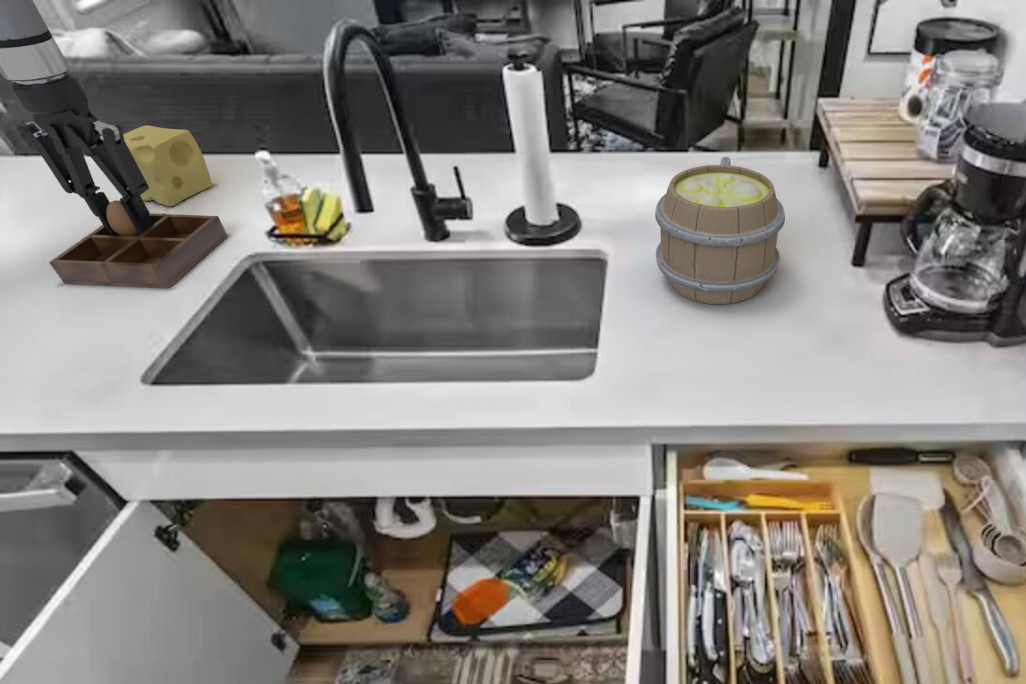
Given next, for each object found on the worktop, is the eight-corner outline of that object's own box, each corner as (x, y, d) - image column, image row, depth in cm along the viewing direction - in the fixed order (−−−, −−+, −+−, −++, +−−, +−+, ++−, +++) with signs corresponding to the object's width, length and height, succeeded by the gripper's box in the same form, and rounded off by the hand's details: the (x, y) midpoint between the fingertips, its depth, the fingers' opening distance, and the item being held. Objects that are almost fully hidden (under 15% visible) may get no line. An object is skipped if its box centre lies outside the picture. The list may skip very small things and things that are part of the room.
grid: (64, 283, 100) (48, 262, 98) (133, 232, 112) (121, 212, 109) (169, 288, 100) (156, 266, 97) (228, 236, 111) (217, 215, 109)
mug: (776, 236, 113) (787, 145, 103) (776, 317, 96) (790, 217, 86) (667, 229, 115) (667, 139, 104) (648, 308, 97) (646, 209, 87)
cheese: (172, 208, 119) (140, 150, 112) (126, 198, 121) (92, 141, 114) (218, 184, 126) (191, 129, 119) (173, 176, 128) (145, 121, 121)
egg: (141, 244, 106) (120, 207, 102) (113, 243, 106) (90, 207, 102) (157, 230, 109) (136, 195, 105) (129, 230, 109) (108, 194, 105)
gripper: (119, 70, 93) (200, 227, 110) (-1, 65, 94) (98, 222, 110) (82, 87, 88) (173, 249, 105) (-45, 82, 89) (66, 244, 105)
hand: (134, 235), depth 108 cm, fingers closed on egg, 4 cm apart
